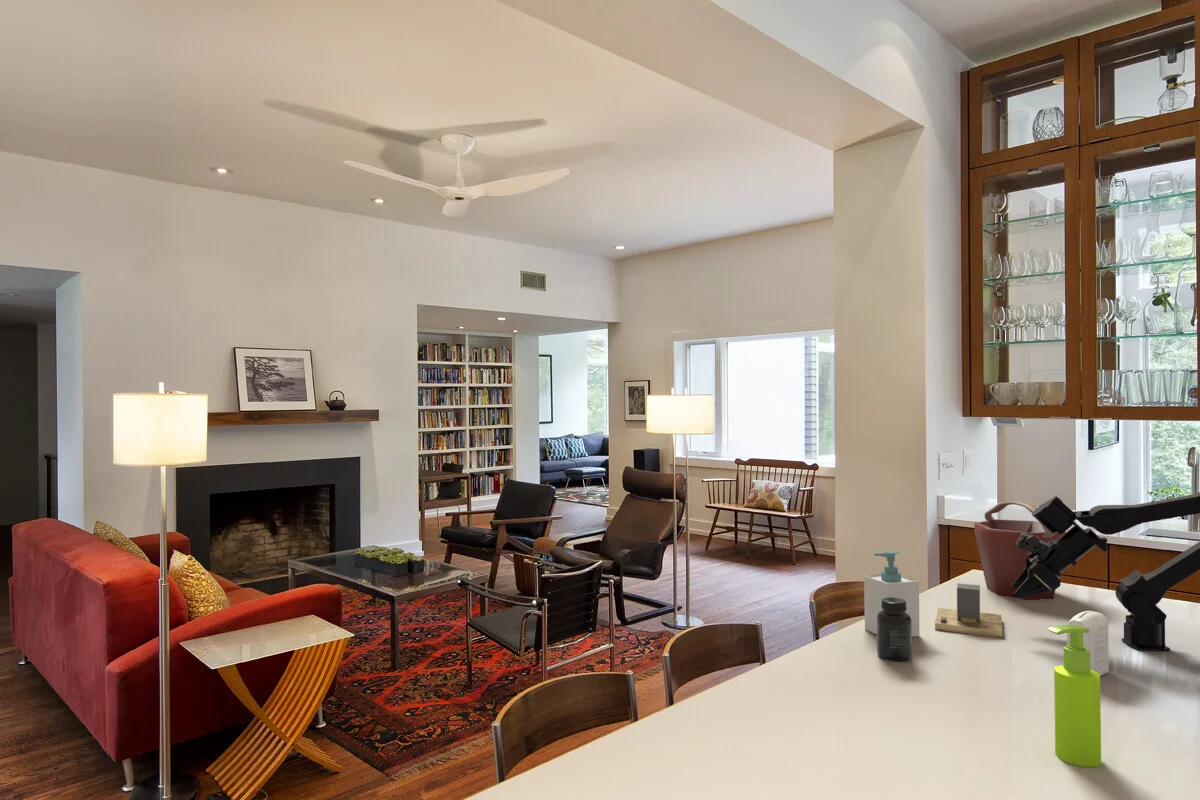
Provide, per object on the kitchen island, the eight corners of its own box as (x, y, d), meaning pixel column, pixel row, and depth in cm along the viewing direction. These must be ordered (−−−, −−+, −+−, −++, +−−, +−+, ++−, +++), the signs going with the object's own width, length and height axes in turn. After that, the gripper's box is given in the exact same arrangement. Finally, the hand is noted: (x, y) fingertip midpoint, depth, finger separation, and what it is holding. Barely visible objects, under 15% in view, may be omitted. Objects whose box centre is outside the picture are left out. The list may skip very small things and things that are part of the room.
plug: (980, 622, 177) (979, 585, 177) (979, 628, 173) (979, 590, 173) (958, 619, 179) (957, 583, 179) (957, 625, 175) (956, 587, 175)
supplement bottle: (875, 649, 160) (875, 595, 160) (909, 652, 158) (908, 596, 158) (878, 660, 153) (878, 603, 153) (914, 663, 151) (913, 605, 151)
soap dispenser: (1040, 749, 114) (1038, 621, 114) (1081, 747, 114) (1080, 619, 114) (1067, 768, 108) (1065, 633, 108) (1111, 766, 109) (1109, 631, 109)
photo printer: (1088, 666, 149) (1087, 605, 149) (1112, 672, 145) (1111, 610, 145) (1063, 677, 143) (1063, 614, 143) (1088, 684, 139) (1087, 619, 139)
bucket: (965, 580, 219) (965, 496, 219) (1045, 581, 216) (1044, 497, 216) (998, 603, 194) (997, 509, 194) (1088, 605, 191) (1087, 509, 191)
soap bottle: (863, 629, 174) (862, 549, 174) (894, 625, 176) (893, 546, 176) (888, 640, 165) (887, 556, 165) (920, 636, 168) (919, 553, 168)
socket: (1001, 620, 179) (1001, 612, 179) (1002, 637, 166) (1002, 628, 166) (938, 613, 185) (938, 605, 185) (935, 629, 173) (934, 620, 173)
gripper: (1037, 515, 177) (986, 557, 182) (1041, 528, 160) (985, 573, 165) (1076, 550, 173) (1023, 592, 178) (1085, 567, 156) (1026, 612, 162)
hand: (1014, 591), depth 171 cm, fingers open, 9 cm apart
